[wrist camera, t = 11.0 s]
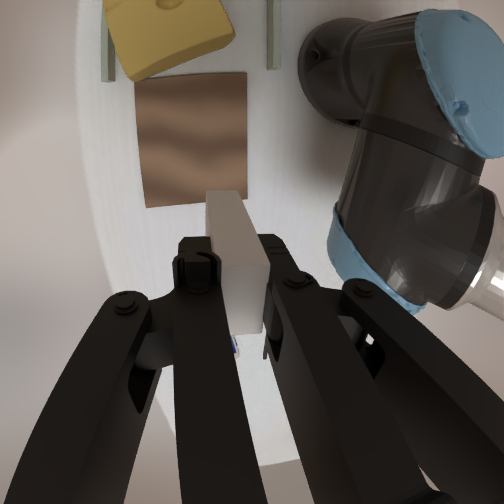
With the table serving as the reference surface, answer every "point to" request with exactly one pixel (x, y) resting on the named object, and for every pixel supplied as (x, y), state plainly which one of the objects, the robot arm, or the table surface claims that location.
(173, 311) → the robot arm
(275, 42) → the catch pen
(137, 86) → the serving board
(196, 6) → the cheese
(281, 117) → the table surface
